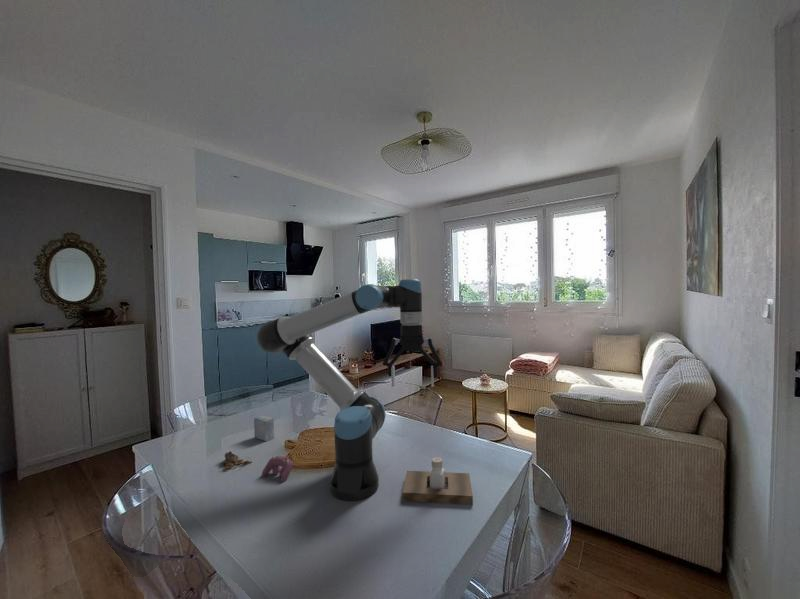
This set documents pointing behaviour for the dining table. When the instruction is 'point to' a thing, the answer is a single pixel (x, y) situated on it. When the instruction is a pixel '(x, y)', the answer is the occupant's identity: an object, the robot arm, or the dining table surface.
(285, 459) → the video game controller
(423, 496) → the spice block
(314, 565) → the dining table surface
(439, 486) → the pepper shaker
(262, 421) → the medicine box
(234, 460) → the frog figurine
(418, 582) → the dining table surface
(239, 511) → the dining table surface
